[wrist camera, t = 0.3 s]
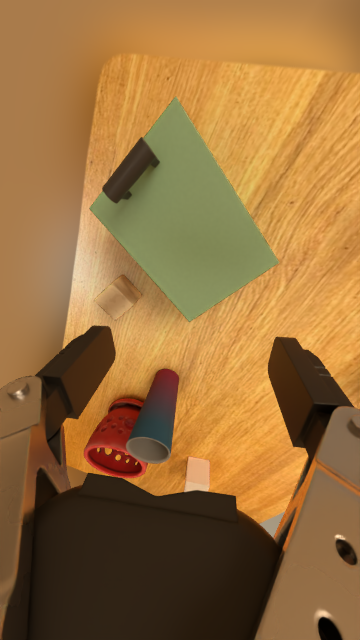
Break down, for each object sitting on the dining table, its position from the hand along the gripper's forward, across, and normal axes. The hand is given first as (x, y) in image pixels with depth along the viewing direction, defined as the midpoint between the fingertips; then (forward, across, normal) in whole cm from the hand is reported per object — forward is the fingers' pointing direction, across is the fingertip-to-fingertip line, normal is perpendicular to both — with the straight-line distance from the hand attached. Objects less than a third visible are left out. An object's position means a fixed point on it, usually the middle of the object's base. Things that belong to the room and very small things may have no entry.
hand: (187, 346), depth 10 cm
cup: (+23, +6, +26) cm, 35 cm away
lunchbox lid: (+16, +2, -3) cm, 16 cm away
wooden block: (+23, +13, +6) cm, 27 cm away
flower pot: (+23, +16, +38) cm, 47 cm away
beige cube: (+23, -1, +58) cm, 62 cm away
